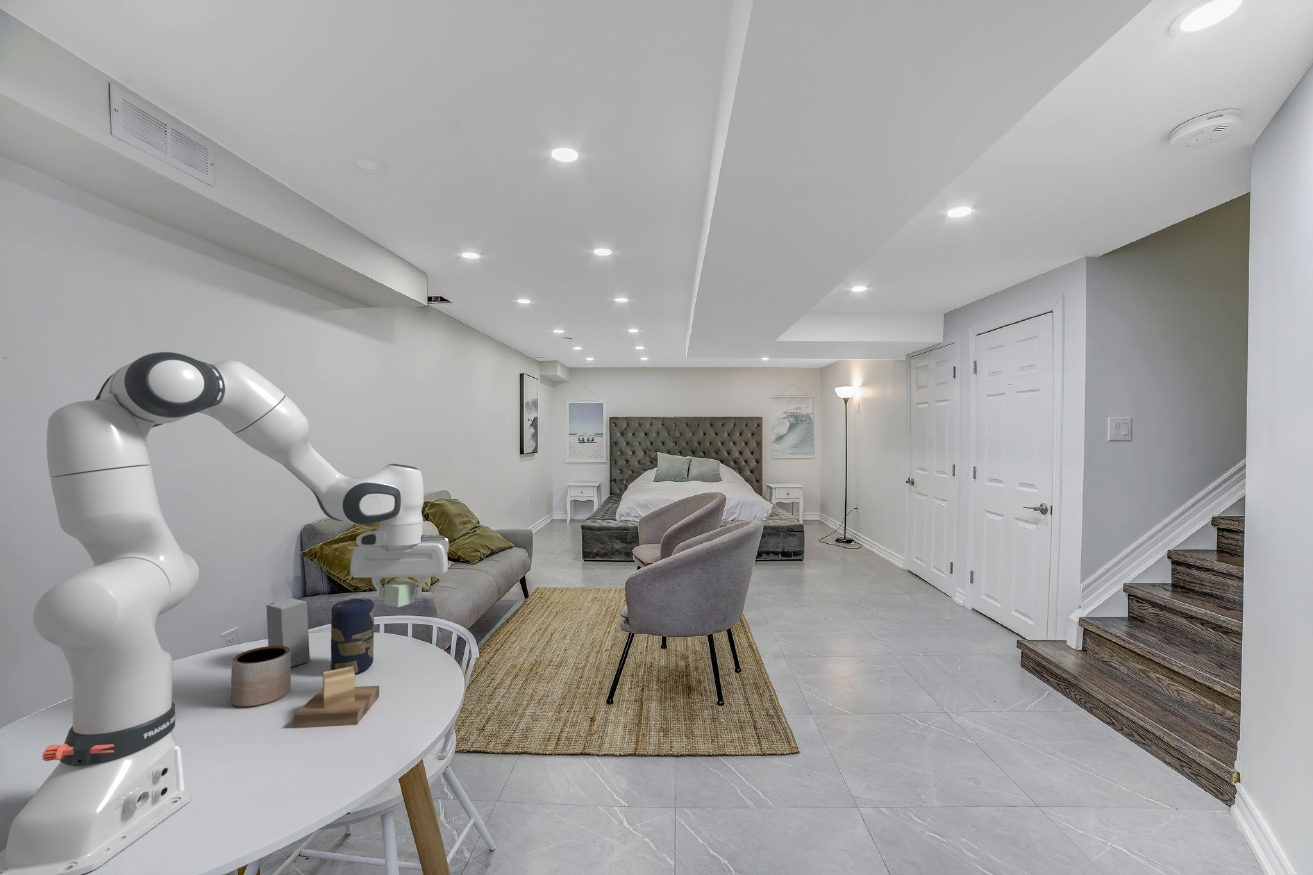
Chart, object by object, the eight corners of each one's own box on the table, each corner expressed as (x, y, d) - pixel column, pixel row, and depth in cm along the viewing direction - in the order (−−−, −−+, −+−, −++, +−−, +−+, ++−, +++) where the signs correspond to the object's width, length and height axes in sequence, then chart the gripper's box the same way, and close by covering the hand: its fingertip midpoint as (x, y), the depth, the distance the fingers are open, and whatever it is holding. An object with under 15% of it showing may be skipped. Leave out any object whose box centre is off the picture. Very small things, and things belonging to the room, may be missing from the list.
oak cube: (354, 701, 114) (355, 675, 114) (324, 708, 111) (324, 681, 111) (352, 691, 118) (352, 666, 118) (323, 697, 115) (323, 672, 115)
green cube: (398, 607, 119) (398, 586, 119) (383, 604, 121) (384, 584, 121) (414, 602, 123) (415, 582, 123) (400, 599, 125) (401, 580, 125)
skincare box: (310, 662, 140) (311, 601, 140) (279, 671, 134) (281, 608, 134) (294, 655, 144) (295, 595, 144) (264, 664, 138) (265, 602, 138)
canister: (370, 674, 133) (372, 601, 133) (326, 680, 129) (328, 605, 129) (375, 659, 142) (376, 591, 142) (334, 664, 138) (335, 594, 138)
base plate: (357, 724, 109) (357, 712, 109) (293, 727, 108) (293, 715, 108) (379, 696, 121) (379, 685, 121) (321, 699, 120) (322, 688, 120)
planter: (301, 687, 125) (302, 646, 126) (263, 710, 115) (264, 665, 115) (259, 684, 127) (260, 643, 127) (216, 707, 116) (217, 662, 116)
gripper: (452, 532, 127) (450, 591, 127) (359, 532, 124) (357, 593, 124) (446, 537, 121) (444, 599, 121) (348, 537, 118) (346, 601, 117)
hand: (399, 596), depth 122 cm, fingers closed on green cube, 6 cm apart
